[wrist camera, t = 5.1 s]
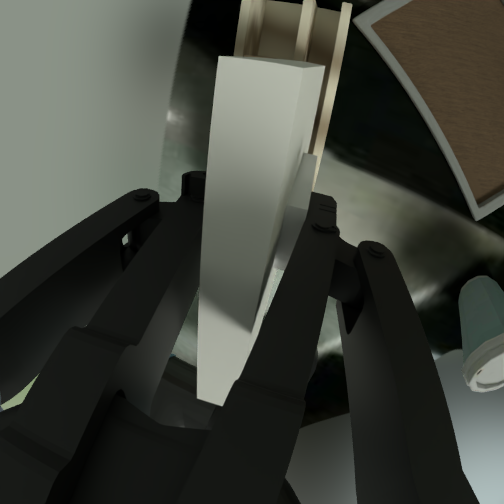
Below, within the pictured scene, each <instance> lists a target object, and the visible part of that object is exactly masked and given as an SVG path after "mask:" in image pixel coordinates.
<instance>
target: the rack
mask: <svg viewBox="0 0 504 504" xmlns="http://www.w3.org/2000/svg"><path fill="white" fill-rule="evenodd" d="M351 9H352V4H349V3H345V2H343V4H342V10H341V12H338V11H333V10H328V9H323V8H318V7H317V4H316V1H315V0H304V1H303V5H301V4H294V3H287V2H279V1H270V0H242V2H241V9H240V15H239V22H238V29H237V36H236V43H235V50H234V56H239V57H244V55H253V56H265V57H272V58H277V59H284V60H294V61H303V62H309V63H314V64H319V65H323V66H325V70H324V75H323V81H322V86H321V91H320V96H319V101H318V106H317V111H316V116H315V120H314V125H313V130H312V135H311V140H310V144H309V149H308V154H312V155H316V156H318V157H317V162H316V168H315V174H314V179H313V185H312V190H311V192H313V190H314V186H315V182H316V178H317V174H318V169H319V165H320V161H321V157H322V152H323V148H324V144H325V139H326V135H327V130H328V126H329V121H330V117H331V112H332V107H333V103H334V98H335V93H336V88H337V84H338V79H339V74H340V69H341V64H342V58H343V53H344V48H345V43H346V37H347V32H348V26H349V21H350V15H351Z"/></svg>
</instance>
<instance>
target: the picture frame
mask: <svg viewBox="0 0 504 504" xmlns="http://www.w3.org/2000/svg"><path fill="white" fill-rule="evenodd" d="M352 21H353V23H354V24H355V25H356V26H357V27H358V29H359V30H360V31H361V32H362V33H363V35H364V36H365V37H366V38H367V40H368V41H369V42H370V43H371V44H372V46H373V47H374V48H375V50H376V51H377V52H378V53H379V55H380V56H381V57H382V59H383V60H384V61H385V63H386V64H387V65H388V67H389V68H390V69H391V71H392V72H393V74H394V75H395V76H396V78H397V79H398V81H399V82H400V84H401V85H402V86H403V88H404V89H405V91H406V92H407V94H408V95H409V97H410V98H411V100H412V102H413V103H414V105H415V106H416V108H417V109H418V111H419V113H420V114H421V116H422V118H423V119H424V121H425V122H426V124H427V126H428V128H429V129H430V131H431V133H432V134H433V136H434V138H435V140H436V142H437V143H438V145H439V147H440V149H441V151H442V153H443V154H444V156H445V158H446V160H447V162H448V164H449V166H450V168H451V170H452V172H453V174H454V176H455V178H456V180H457V182H458V185H459V187H460V189H461V191H462V193H463V195H464V198H465V200H466V202H467V204H468V207H469V209H470V211H471V214H472V216H473V218H474V219H475V220H476V221H477V220H479V219H481V218H483V217H484V216H486V215H488V214H489V213H491V212H493V211H494V210H496V209H497V208H499V207H501V206H502V205H504V0H383V1H381V2H379V3H378V4H376V5H374V6H373V7H371V8H369V9H368V10H366V11H364V12H363V13H361V14H360V15H358V16H357V17H355V18H354V19H353V20H352Z"/></svg>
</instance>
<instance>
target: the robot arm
mask: <svg viewBox="0 0 504 504" xmlns="http://www.w3.org/2000/svg"><path fill="white" fill-rule="evenodd" d="M317 157H318V156H316V155H312V154H308V153H303V156H302V160H301V163H300V166H299V169H298V172H297V175H296V178H295V181H294V184H293V187H292V190H291V193H290V196H289V199H288V202H287V205H286V210H285V215H284V219H283V224H282V229H281V233H280V238H279V242H278V247H277V252H276V256H275V261H274V265H273V268H276V269H280V270H284V273H283V276H282V278H281V281H280V283H279V286H278V288H277V291H276V293H275V295H274V298H273V300H272V303H271V305H270V307H269V310H268V312H267V315H266V317H265V319H264V321H262V324H261V327H260V330H259V333H258V336H257V338H256V340H255V343H254V345H253V347H252V350H251V352H250V354H249V357H248V359H247V361H246V364H245V366H244V368H243V370H242V373H241V375H240V377H239V378H238V380H235V382H234V383H233V385H232V387H231V389H230V391H229V393H228V395H227V397H226V400H225V402H224V404H223V406H220V405H217V404H213V403H210V402H207V401H204V400H201V399H197V367H196V366H193V365H191V364H189V363H187V362H185V361H183V360H181V359H179V358H177V357H176V355H175V354H171V352H172V350H173V347H174V345H175V342H176V340H177V337H178V335H179V332H180V330H181V328H182V325H183V323H184V320H185V318H186V316H187V313H188V311H189V308H190V306H191V304H192V301H193V299H194V297H195V294H196V292H197V289H198V287H199V285H200V263H201V245H202V228H203V213H204V199H205V185H206V173H207V172H205V171H190V172H187V173H184V174H183V175H182V189H181V196H180V198H179V199H178V200H177V201H176V202H159V194H158V192H156V191H154V190H150V189H147V188H146V189H143V188H141V189H137V190H133V191H131V192H129V193H127V194H125V195H124V196H122V197H120V198H118V199H117V200H115V201H113V202H112V203H110V204H108V205H107V206H105V207H103V208H102V209H100V210H99V211H97V212H95V213H94V214H92V215H91V216H89V217H88V218H86V219H84V220H83V221H81V222H80V223H78V224H76V225H75V226H73V227H72V228H70V229H69V230H67V231H66V232H64V233H63V234H61V235H60V236H58V237H57V238H55V239H54V240H53V241H51V242H50V243H48V244H47V245H45V246H44V247H43V248H41V249H40V250H38V251H37V252H36V253H34V254H32V255H31V256H30V257H28V258H27V259H26V260H24V261H23V262H22V263H20V264H19V265H17V266H16V267H15V268H14V269H12V270H11V271H10V272H8V273H7V274H6V275H4V276H3V277H2V278H0V405H2V404H3V403H5V402H7V401H8V400H10V399H11V398H13V397H14V396H15V395H17V394H18V393H19V392H20V391H22V390H23V389H24V388H25V387H26V386H27V385H28V384H29V383H30V382H31V381H32V380H33V379H34V378H35V377H36V376H37V375H38V374H39V375H38V377H37V378H36V380H35V382H34V383H33V385H32V387H31V389H30V390H29V392H28V394H27V395H26V397H25V399H24V401H23V402H22V403H21V404H19V405H16V406H14V407H11V408H9V409H6V410H3V409H2V408H1V406H0V504H301V503H300V502H299V500H298V498H297V496H296V494H295V492H294V491H293V489H292V487H291V485H290V484H289V483H288V481H287V480H286V479H285V475H286V472H287V469H288V466H289V463H290V459H291V456H292V453H293V450H294V446H295V443H296V439H297V436H298V433H299V429H300V426H301V422H302V418H303V415H304V410H305V404H306V402H305V401H304V396H305V392H306V388H307V384H308V382H309V380H310V378H311V376H312V375H313V373H314V371H315V369H316V365H317V358H318V350H317V344H318V340H319V335H320V331H321V327H322V322H323V317H324V313H325V308H326V303H327V299H328V295H329V296H331V297H333V298H335V299H337V301H336V309H337V315H338V321H339V328H340V335H341V342H342V349H343V356H344V364H345V372H346V380H347V388H348V397H349V407H350V416H351V427H352V438H353V451H354V465H355V481H356V495H357V504H480V503H479V501H478V500H477V497H476V495H475V494H474V492H473V490H472V488H471V486H470V484H469V482H468V480H467V478H466V476H465V474H464V472H463V470H462V466H461V461H460V456H459V451H458V446H457V442H456V438H455V433H454V429H453V425H452V421H451V417H450V413H449V409H448V406H447V402H446V398H445V395H444V391H443V388H442V385H441V381H440V378H439V375H438V372H437V368H436V365H435V362H434V359H433V356H432V353H431V350H430V347H429V344H428V341H427V338H426V336H425V333H424V330H423V327H422V325H421V322H420V319H419V316H418V314H417V311H416V309H415V306H414V303H413V301H412V298H411V296H410V293H409V291H408V289H407V286H406V284H405V281H404V279H403V277H402V274H401V272H400V269H399V267H398V265H397V263H396V260H395V258H394V256H393V254H392V253H391V251H390V250H389V249H388V248H387V247H385V246H384V245H383V244H381V243H378V242H374V241H362V242H360V244H359V245H358V247H355V246H353V245H351V244H349V243H347V242H345V241H344V240H343V239H341V238H340V237H339V235H340V231H339V228H338V227H337V226H336V212H337V209H336V208H337V203H336V201H335V200H334V199H333V197H331V196H327V195H323V194H319V193H315V192H311V190H312V185H313V179H314V174H315V168H316V162H317ZM126 234H128V243H126V244H125V245H123V243H122V238H123V237H124V236H125V235H126Z"/></svg>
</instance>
